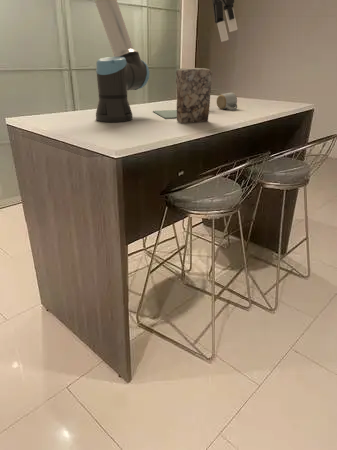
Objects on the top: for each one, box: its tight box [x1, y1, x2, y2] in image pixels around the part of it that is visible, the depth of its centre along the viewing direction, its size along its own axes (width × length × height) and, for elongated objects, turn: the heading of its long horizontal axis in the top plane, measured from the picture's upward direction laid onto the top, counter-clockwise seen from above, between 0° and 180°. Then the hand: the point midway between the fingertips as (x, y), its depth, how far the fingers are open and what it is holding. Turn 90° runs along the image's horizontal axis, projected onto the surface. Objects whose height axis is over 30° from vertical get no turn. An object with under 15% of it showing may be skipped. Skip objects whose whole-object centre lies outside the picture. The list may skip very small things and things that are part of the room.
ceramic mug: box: [216, 92, 238, 111], centre depth 171 cm, size 11×8×8 cm
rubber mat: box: [152, 109, 177, 120], centre depth 156 cm, size 18×20×1 cm
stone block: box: [175, 67, 213, 124], centre depth 135 cm, size 13×7×20 cm, turn 120°
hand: (229, 36), depth 121 cm, fingers open, 13 cm apart
